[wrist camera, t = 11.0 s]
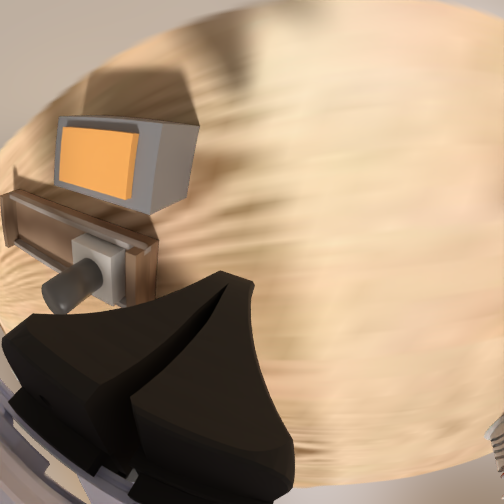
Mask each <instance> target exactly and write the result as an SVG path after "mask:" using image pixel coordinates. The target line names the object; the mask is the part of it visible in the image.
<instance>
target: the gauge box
mask: <svg viewBox="0 0 504 504" xmlns="http://www.w3.org/2000/svg"><path fill="white" fill-rule="evenodd" d="M63 127H83V128H95V129H106V130H115V131H123V132H131V133H139V138H138V145H137V152H136V159H135V167H134V176H133V185H132V196H131V198H130V199H127V200H124V199H120V198H117V197H114V196H110V195H107V194H104V193H100V192H97V191H93V190H90V189H87V188H83V187H80V186H76V185H73V184H70V183H66V182H63V181H59V171H60V153H61V141H62V131H63ZM199 127H200V126H195V125H189V124H183V123H176V122H169V121H161V120H153V119H144V118H133V117H122V116H107V115H81V116H59V121H58V129H57V139H56V151H55V169H54V185H55V186H58V187H61V188H65V189H68V190H71V191H74V192H78V193H81V194H84V195H87V196H91V197H94V198H97V199H100V200H103V201H107V202H110V203H113V204H116V205H120V206H123V207H126V208H129V209H132V210H136V211H139V212H142V213H145V214H148V215H151V214H153V213H155V212H157V211H159V210H161V209H163V208H165V207H167V206H170V205H172V204H174V203H176V202H178V201H180V200H182V199H185V198H186V197H187V191H188V185H189V179H190V173H191V168H192V162H193V157H194V152H195V146H196V141H197V136H198V132H199Z"/></svg>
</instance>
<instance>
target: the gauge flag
mask: <svg viewBox="0 0 504 504" xmlns="http://www.w3.org/2000/svg"><path fill="white" fill-rule="evenodd" d="M138 138H139V133H131V132H123V131H115V130H106V129H95V128H83V127H63V131H62V141H61V153H60V171H59V181H63V182H66V183H70V184H73V185H76V186H80V187H83V188H87V189H90V190H93V191H97V192H100V193H104V194H107V195H110V196H114V197H117V198H120V199H124V200H127V199H130V198H131V196H132V185H133V176H134V167H135V159H136V152H137V145H138Z"/></svg>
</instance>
